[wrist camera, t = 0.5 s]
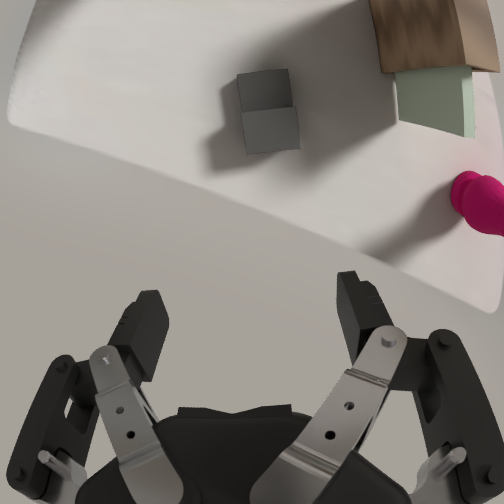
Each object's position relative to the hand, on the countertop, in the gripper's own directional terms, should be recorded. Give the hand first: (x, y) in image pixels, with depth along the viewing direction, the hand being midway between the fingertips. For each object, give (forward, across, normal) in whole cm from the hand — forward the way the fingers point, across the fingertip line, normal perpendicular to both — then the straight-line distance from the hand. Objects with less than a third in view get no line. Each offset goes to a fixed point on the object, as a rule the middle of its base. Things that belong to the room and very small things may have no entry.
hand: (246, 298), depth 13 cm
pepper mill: (+22, -28, +4) cm, 36 cm away
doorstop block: (+23, -2, -7) cm, 24 cm away
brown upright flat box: (+22, -17, -15) cm, 32 cm away
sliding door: (+22, -17, -11) cm, 30 cm away
